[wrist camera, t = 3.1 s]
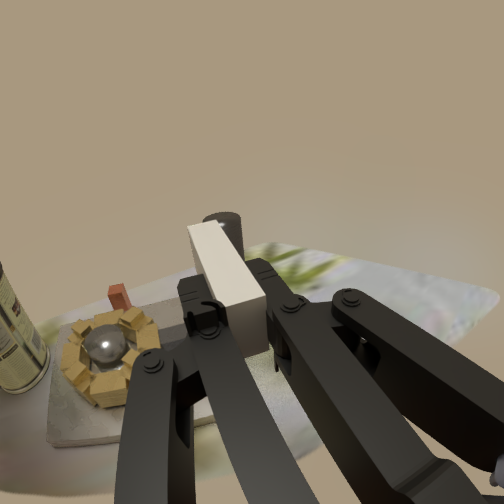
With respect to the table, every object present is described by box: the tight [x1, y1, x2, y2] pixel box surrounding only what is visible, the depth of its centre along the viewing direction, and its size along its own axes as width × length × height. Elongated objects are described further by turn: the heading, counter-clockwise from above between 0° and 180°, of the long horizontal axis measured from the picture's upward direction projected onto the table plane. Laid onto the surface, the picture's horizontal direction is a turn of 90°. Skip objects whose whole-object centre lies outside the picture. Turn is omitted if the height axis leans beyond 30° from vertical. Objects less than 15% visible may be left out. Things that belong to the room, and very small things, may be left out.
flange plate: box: [47, 283, 216, 448], centre depth 28 cm, size 18×20×6 cm
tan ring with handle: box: [60, 212, 245, 408], centre depth 25 cm, size 21×12×13 cm, turn 110°
